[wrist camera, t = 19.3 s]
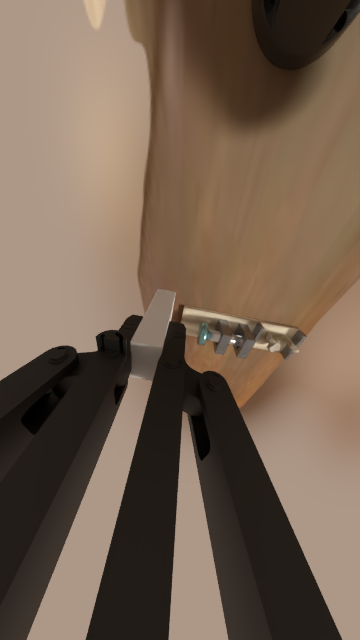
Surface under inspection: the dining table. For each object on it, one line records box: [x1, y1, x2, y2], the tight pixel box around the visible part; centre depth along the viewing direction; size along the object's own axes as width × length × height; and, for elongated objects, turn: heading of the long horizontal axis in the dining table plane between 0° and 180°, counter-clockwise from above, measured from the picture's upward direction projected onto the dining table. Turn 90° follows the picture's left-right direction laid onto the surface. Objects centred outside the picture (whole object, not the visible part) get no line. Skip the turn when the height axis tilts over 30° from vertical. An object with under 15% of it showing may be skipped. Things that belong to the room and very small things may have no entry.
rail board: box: [181, 305, 300, 353], centre depth 49 cm, size 10×36×2 cm, turn 80°
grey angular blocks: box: [213, 319, 307, 360], centre depth 46 cm, size 10×25×9 cm, turn 80°
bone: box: [266, 331, 299, 353], centre depth 45 cm, size 9×6×10 cm
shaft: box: [197, 323, 253, 348], centre depth 44 cm, size 16×6×6 cm, turn 80°
